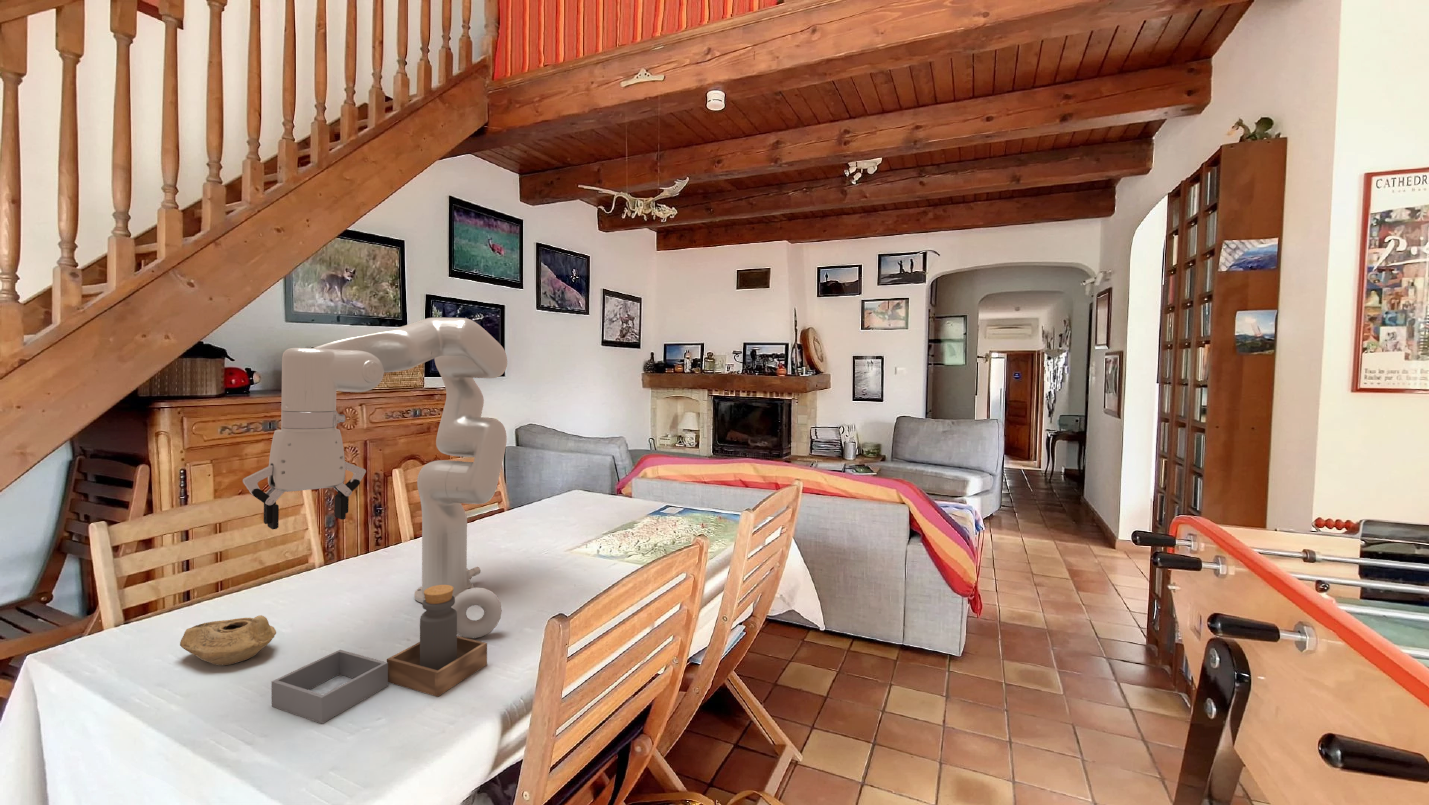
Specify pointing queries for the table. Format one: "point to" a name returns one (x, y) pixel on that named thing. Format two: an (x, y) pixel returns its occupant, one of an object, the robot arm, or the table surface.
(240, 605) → the table surface
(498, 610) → the donut
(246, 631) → the oil lamp
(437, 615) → the bottle
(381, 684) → the grey bin
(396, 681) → the walnut bin
